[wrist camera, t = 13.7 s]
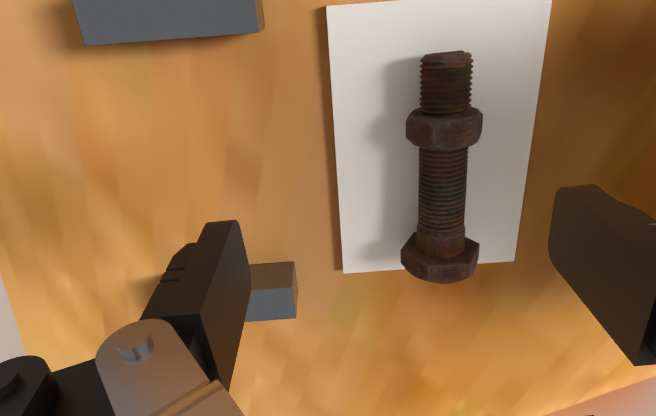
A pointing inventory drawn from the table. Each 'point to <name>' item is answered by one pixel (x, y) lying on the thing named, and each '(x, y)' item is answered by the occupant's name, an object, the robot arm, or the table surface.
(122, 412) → the robot arm
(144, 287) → the table surface
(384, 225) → the board
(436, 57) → the bolt
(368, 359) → the table surface
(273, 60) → the table surface
